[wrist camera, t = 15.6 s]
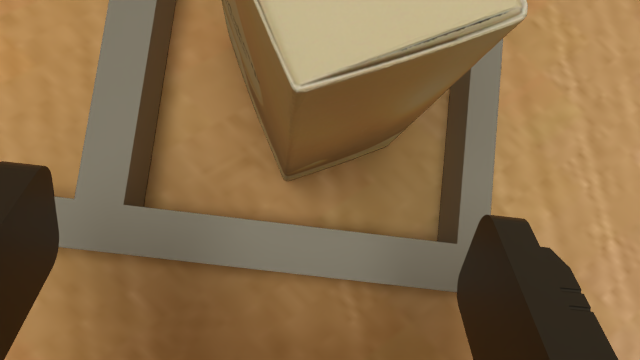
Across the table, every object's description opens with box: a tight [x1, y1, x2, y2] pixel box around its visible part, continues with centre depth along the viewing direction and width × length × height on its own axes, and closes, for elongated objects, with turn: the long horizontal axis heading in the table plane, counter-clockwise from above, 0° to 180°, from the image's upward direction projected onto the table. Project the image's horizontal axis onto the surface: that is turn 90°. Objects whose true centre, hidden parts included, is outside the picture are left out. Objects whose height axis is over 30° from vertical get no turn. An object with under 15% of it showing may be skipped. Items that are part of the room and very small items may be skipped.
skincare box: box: [222, 0, 528, 181], centre depth 16 cm, size 6×4×12 cm
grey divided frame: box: [54, 0, 503, 292], centre depth 20 cm, size 24×15×3 cm, turn 83°
